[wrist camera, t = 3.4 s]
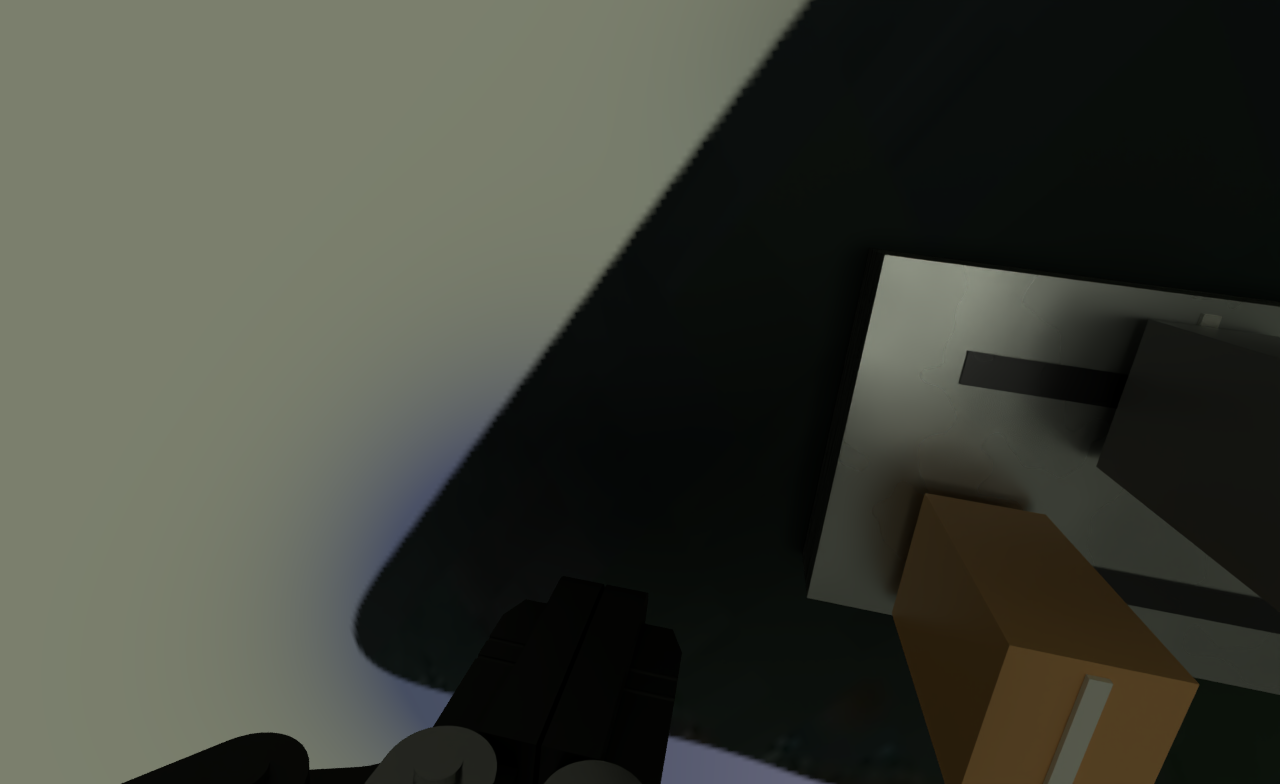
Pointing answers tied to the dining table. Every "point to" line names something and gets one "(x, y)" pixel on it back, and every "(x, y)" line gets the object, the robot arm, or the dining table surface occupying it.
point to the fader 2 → (1206, 443)
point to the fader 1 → (1030, 655)
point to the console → (1019, 441)
